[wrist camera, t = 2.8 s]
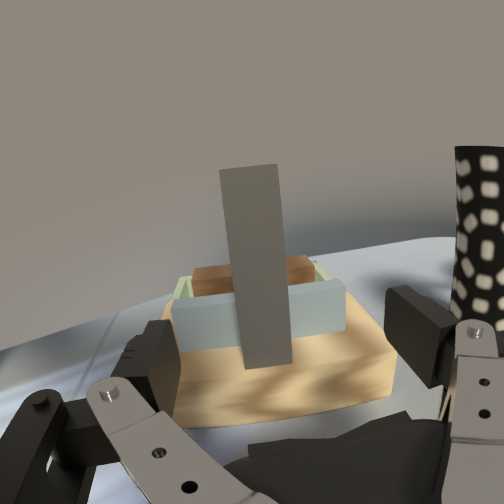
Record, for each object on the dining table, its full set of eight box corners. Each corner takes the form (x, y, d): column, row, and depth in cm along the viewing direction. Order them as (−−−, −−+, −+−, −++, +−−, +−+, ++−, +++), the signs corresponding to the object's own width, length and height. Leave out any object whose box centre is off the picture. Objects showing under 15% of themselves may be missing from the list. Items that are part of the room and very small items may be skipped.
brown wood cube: (197, 318, 32) (191, 280, 31) (200, 302, 36) (194, 268, 35) (237, 313, 32) (232, 276, 31) (236, 298, 36) (231, 264, 35)
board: (153, 429, 23) (135, 383, 21) (176, 337, 38) (168, 300, 37) (390, 395, 24) (398, 347, 22) (336, 317, 39) (336, 279, 38)
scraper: (174, 376, 22) (134, 182, 19) (183, 340, 28) (154, 179, 24) (359, 350, 23) (357, 158, 19) (338, 319, 28) (331, 159, 25)
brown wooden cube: (277, 308, 32) (274, 270, 31) (272, 293, 36) (268, 259, 35) (316, 303, 32) (314, 265, 31) (307, 289, 36) (305, 254, 35)
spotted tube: (458, 330, 31) (469, 148, 25) (519, 349, 24) (542, 153, 19) (427, 365, 26) (440, 145, 21) (499, 392, 19) (536, 149, 14)
